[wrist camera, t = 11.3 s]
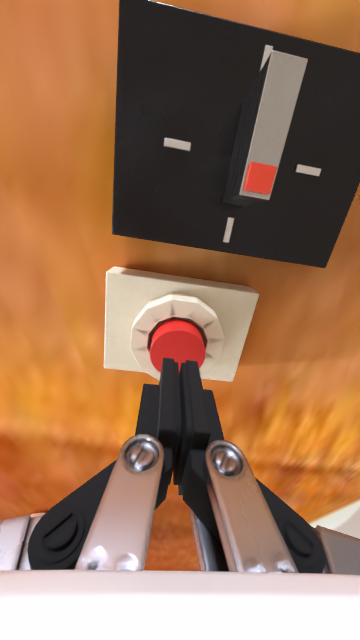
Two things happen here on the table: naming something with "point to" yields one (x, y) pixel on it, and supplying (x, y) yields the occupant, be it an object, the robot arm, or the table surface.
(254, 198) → the hob knob
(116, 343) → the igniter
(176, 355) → the button
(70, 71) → the table surface
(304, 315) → the table surface
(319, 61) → the panel
